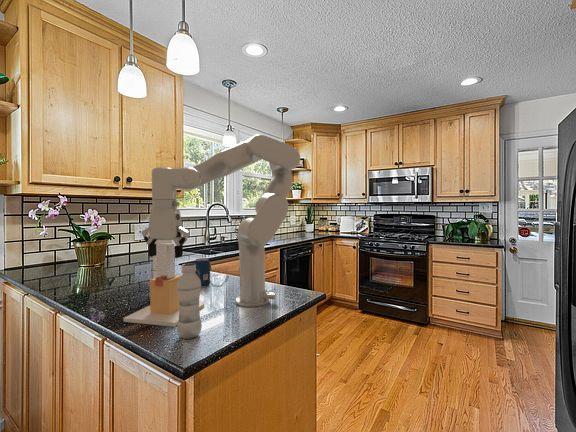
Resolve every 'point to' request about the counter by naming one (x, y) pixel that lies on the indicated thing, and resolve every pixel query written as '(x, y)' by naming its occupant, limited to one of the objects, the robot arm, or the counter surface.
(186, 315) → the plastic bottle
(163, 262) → the steel column
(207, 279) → the soda can
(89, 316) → the counter surface
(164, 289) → the stand base
